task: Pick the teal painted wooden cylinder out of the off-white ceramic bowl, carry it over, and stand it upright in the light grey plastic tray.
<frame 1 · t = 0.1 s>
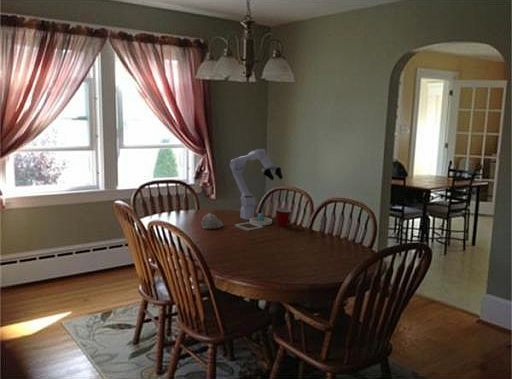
hand: (277, 178, 301), 32 cm above the table, tool tilted 50°, fingers open, 7 cm apart
cylinder: (260, 222, 314), point 1 cm above the table, touching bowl
seashell: (210, 227, 303), on the table
plastic cup: (282, 227, 308), on the table
tray: (248, 227, 302), on the table
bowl: (260, 223, 315), on the table
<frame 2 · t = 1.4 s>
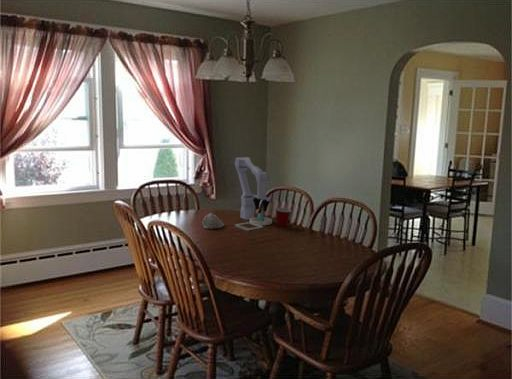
hand: (261, 210, 313), 9 cm above the table, tool pointing down, fingers open, 7 cm apart
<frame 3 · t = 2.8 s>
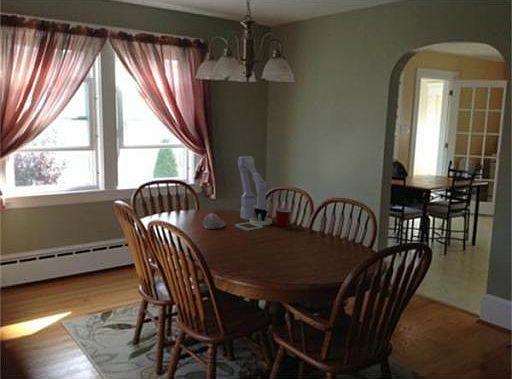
hand: (260, 220, 314), 3 cm above the table, tool pointing down, fingers closed on cylinder, 4 cm apart
cylinder: (260, 222, 314), point 1 cm above the table, touching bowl, gripper
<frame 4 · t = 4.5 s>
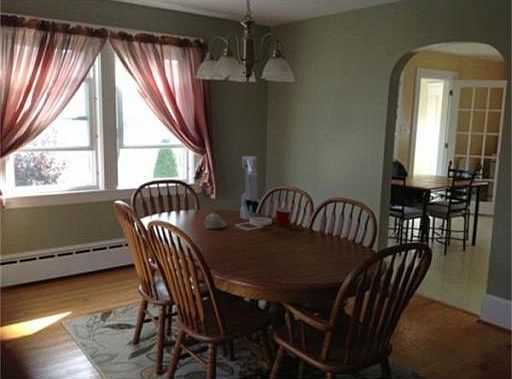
hand: (251, 212, 303), 10 cm above the table, tool pointing down, fingers closed on cylinder, 4 cm apart
cylinder: (252, 214, 304), point 8 cm above the table, touching gripper
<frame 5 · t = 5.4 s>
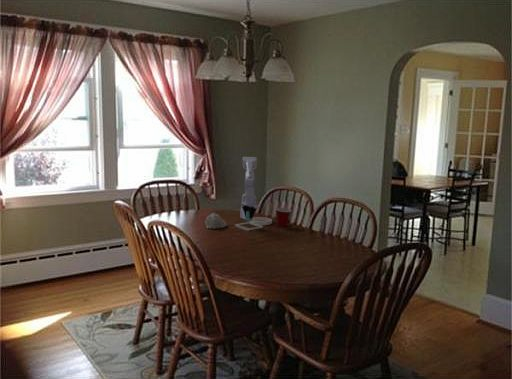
hand: (249, 217, 301), 7 cm above the table, tool pointing down, fingers closed on cylinder, 4 cm apart
cylinder: (249, 220, 302), point 5 cm above the table, touching gripper
when the fingers open (4 cm above the table, at t = 6.3 s): cylinder drops 2 cm, resting on tray.
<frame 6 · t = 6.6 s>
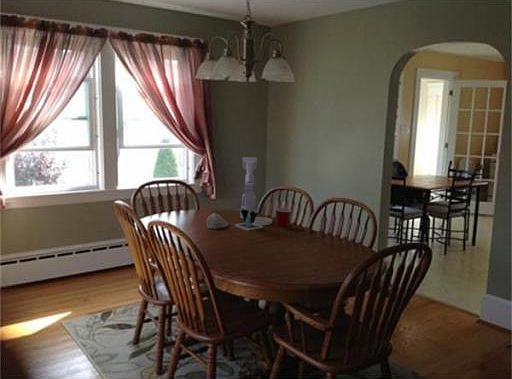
hand: (248, 221, 302), 4 cm above the table, tool pointing down, fingers open, 6 cm apart
cylinder: (248, 227, 302), point 1 cm above the table, touching tray
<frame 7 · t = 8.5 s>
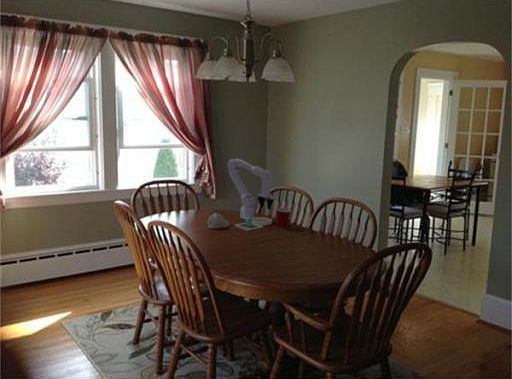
hand: (265, 208, 320), 9 cm above the table, tool pointing down, fingers open, 7 cm apart
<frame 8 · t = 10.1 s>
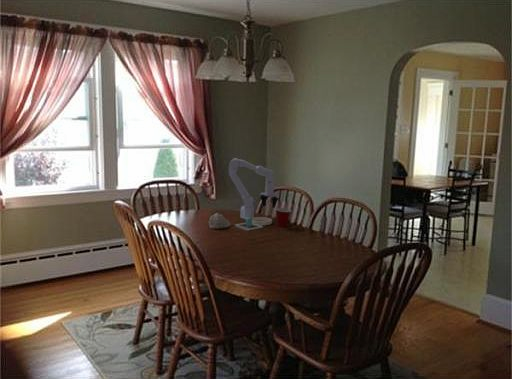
hand: (269, 206, 325), 9 cm above the table, tool pointing down, fingers open, 7 cm apart
at the end: cylinder inside the target area on the tray (0.1 cm from its centre), point 0.6 cm above the tray's base; cylinder tilted 1°; the gripper is holding nothing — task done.
